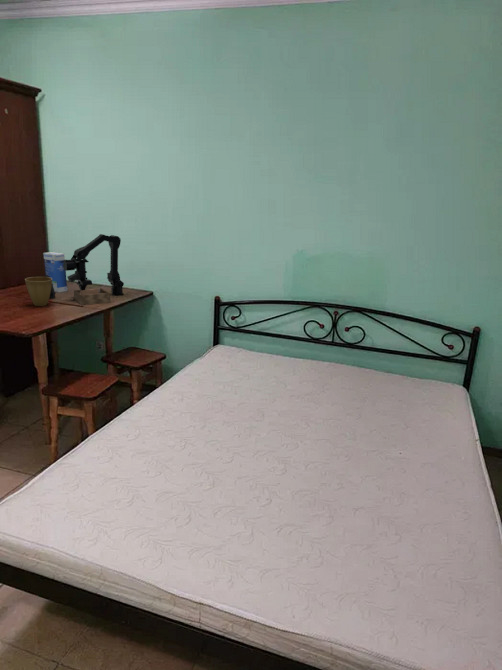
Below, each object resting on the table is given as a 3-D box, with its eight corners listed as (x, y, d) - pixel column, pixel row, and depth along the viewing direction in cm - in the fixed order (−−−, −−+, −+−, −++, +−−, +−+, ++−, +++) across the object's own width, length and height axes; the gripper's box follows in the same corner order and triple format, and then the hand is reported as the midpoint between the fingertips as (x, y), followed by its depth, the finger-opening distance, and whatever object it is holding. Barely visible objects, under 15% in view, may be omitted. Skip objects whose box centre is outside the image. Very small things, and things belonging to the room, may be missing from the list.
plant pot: (28, 308, 275) (25, 281, 270) (27, 302, 288) (24, 277, 283) (55, 306, 282) (53, 280, 277) (53, 301, 294) (50, 276, 290)
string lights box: (67, 291, 323) (65, 253, 315) (58, 292, 317) (55, 254, 309) (55, 288, 330) (52, 251, 322) (46, 290, 323) (42, 252, 316)
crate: (101, 297, 311) (101, 288, 309) (110, 302, 298) (110, 292, 297) (74, 299, 300) (73, 290, 298) (82, 305, 288) (81, 295, 286)
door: (99, 296, 310) (99, 288, 308) (100, 297, 309) (99, 288, 307) (81, 299, 302) (80, 290, 300) (81, 299, 301) (81, 290, 299)
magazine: (58, 296, 299) (46, 275, 295) (40, 304, 301) (28, 283, 296) (60, 295, 303) (48, 274, 299) (42, 303, 304) (30, 282, 300)
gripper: (62, 268, 299) (64, 291, 304) (74, 272, 286) (76, 297, 291) (79, 266, 306) (81, 290, 311) (91, 271, 293) (93, 295, 298)
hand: (82, 293), depth 303 cm, fingers closed
